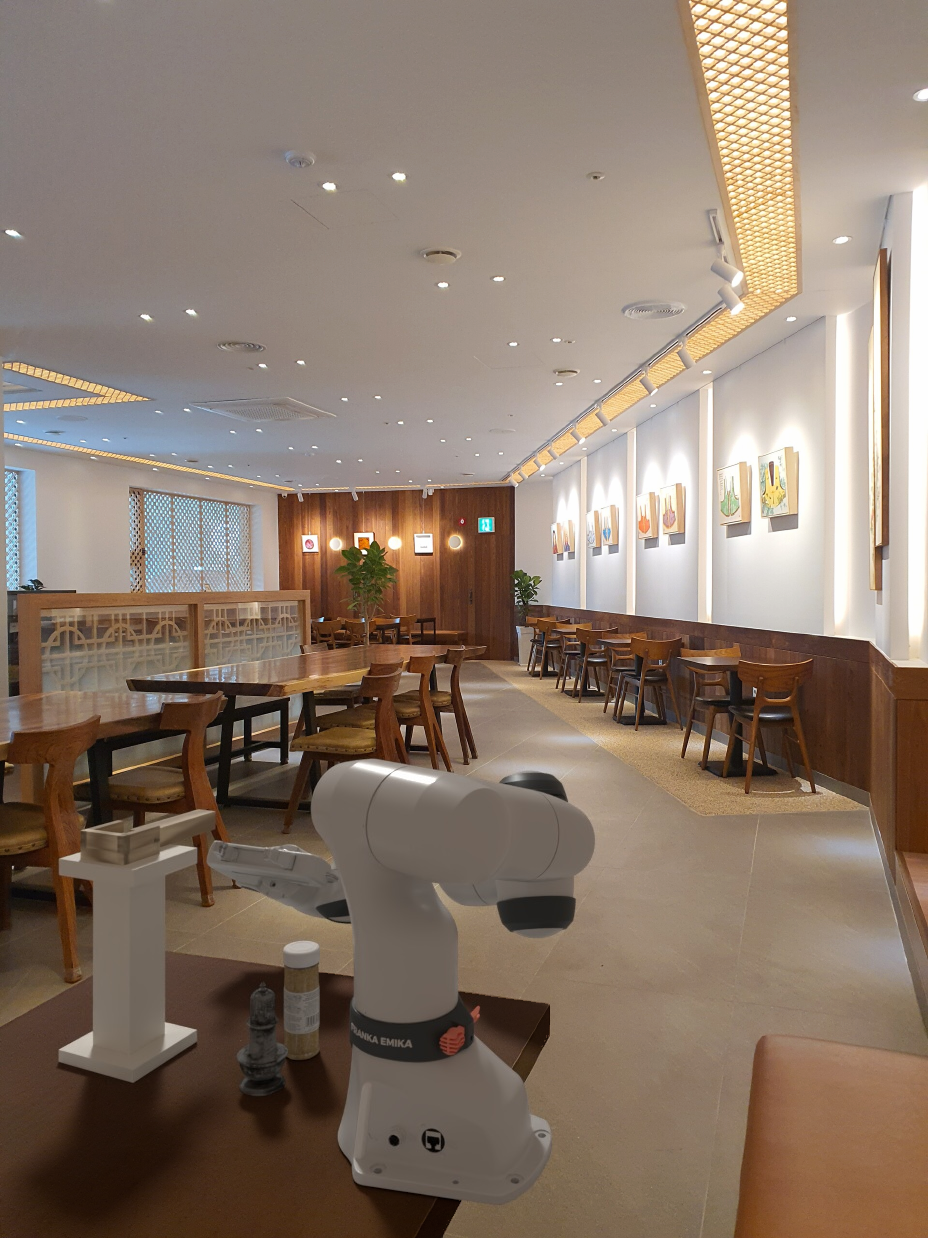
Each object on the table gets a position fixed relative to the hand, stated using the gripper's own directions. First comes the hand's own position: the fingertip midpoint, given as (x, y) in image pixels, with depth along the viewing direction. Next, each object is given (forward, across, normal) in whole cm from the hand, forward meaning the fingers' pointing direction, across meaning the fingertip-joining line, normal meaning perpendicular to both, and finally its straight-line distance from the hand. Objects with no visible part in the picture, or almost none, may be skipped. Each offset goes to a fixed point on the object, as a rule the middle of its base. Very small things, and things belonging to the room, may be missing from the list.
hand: (241, 849), depth 131 cm
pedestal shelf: (+9, 0, -29) cm, 30 cm away
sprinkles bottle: (+2, -20, -24) cm, 32 cm away
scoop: (+17, 0, -4) cm, 18 cm away
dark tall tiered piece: (+9, -20, -28) cm, 36 cm away
